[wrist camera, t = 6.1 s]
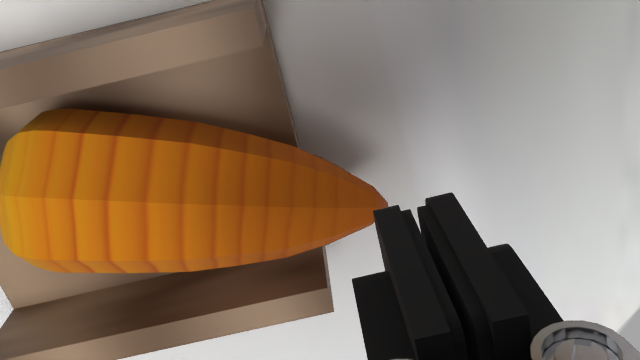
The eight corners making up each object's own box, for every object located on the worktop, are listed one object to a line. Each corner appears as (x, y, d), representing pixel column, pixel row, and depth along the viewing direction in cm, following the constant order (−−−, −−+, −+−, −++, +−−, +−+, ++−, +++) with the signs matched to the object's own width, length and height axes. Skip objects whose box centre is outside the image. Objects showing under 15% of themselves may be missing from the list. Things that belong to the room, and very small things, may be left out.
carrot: (413, 125, 16) (-181, 86, 14) (402, 303, 16) (-185, 286, 14) (375, 132, 21) (-67, 103, 19) (367, 267, 21) (-71, 252, 19)
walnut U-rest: (259, -11, 18) (253, 7, 14) (325, 247, 22) (334, 311, 19) (-97, 75, 19) (-188, 114, 15) (35, 312, 23) (-11, 387, 19)
